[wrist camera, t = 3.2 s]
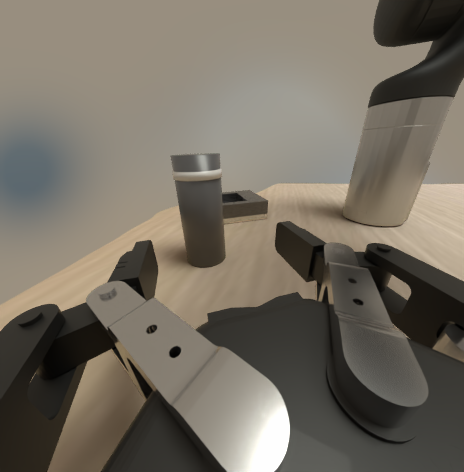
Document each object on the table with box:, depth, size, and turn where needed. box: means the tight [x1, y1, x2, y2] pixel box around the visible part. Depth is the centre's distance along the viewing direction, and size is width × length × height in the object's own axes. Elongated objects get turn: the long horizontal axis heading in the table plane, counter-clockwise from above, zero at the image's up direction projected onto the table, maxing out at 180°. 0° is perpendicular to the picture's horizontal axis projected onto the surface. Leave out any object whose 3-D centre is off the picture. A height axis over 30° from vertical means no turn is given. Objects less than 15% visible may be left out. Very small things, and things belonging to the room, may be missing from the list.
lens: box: [171, 153, 225, 267], centre depth 21 cm, size 5×5×12 cm
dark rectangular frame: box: [222, 190, 268, 224], centre depth 37 cm, size 14×10×4 cm
